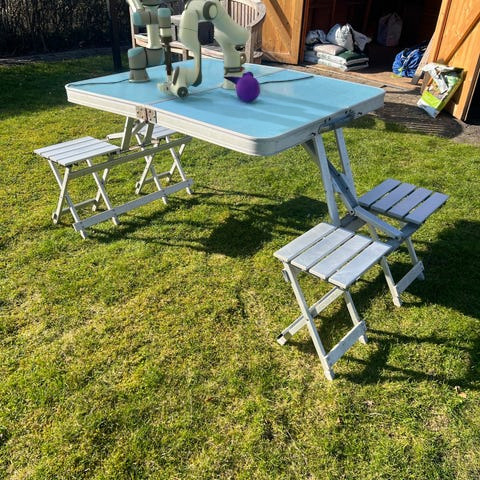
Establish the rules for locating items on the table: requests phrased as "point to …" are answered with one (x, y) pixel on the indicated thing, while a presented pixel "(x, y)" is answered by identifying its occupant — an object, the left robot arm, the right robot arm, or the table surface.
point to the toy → (246, 86)
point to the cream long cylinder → (169, 79)
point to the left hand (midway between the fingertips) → (169, 74)
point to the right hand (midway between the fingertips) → (170, 83)
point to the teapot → (243, 59)
